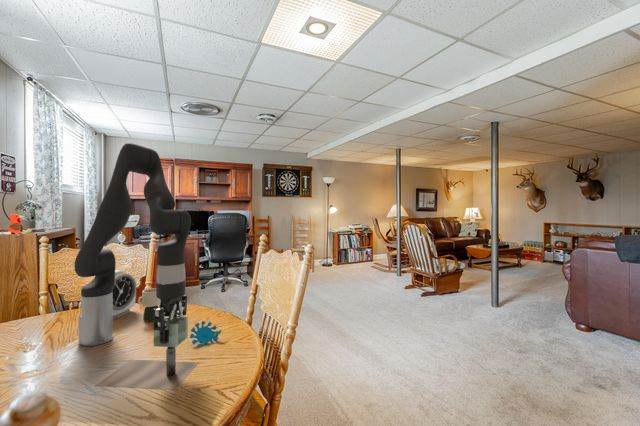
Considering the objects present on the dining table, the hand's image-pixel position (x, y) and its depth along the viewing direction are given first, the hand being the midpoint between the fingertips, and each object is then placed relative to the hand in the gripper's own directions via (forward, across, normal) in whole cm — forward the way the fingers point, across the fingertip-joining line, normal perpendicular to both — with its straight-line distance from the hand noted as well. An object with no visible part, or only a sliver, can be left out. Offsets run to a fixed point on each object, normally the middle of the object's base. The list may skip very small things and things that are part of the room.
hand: (171, 337), depth 87 cm
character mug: (+12, -42, -33) cm, 55 cm away
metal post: (+11, 0, 0) cm, 11 cm away
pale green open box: (+1, 0, 0) cm, 1 cm away
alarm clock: (+12, -45, -52) cm, 70 cm away
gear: (+12, -22, 0) cm, 25 cm away
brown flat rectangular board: (+12, 0, -6) cm, 13 cm away
